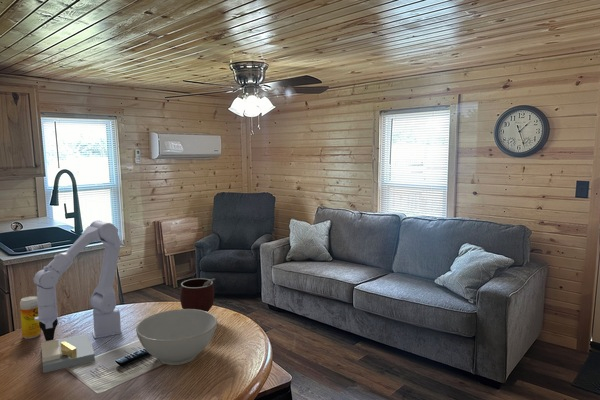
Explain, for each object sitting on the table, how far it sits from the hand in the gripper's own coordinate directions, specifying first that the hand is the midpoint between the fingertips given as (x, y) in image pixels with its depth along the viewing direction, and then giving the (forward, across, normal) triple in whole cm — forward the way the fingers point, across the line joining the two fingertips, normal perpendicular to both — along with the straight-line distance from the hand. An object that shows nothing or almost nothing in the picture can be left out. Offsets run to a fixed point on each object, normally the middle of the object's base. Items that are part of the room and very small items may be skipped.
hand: (49, 340), depth 148 cm
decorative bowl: (+4, +28, +37) cm, 47 cm away
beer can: (+4, -18, -6) cm, 19 cm away
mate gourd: (+4, +4, +54) cm, 54 cm away
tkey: (+1, +15, +5) cm, 15 cm away
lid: (+1, +9, 0) cm, 9 cm away
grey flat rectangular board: (+4, +6, +5) cm, 9 cm away
